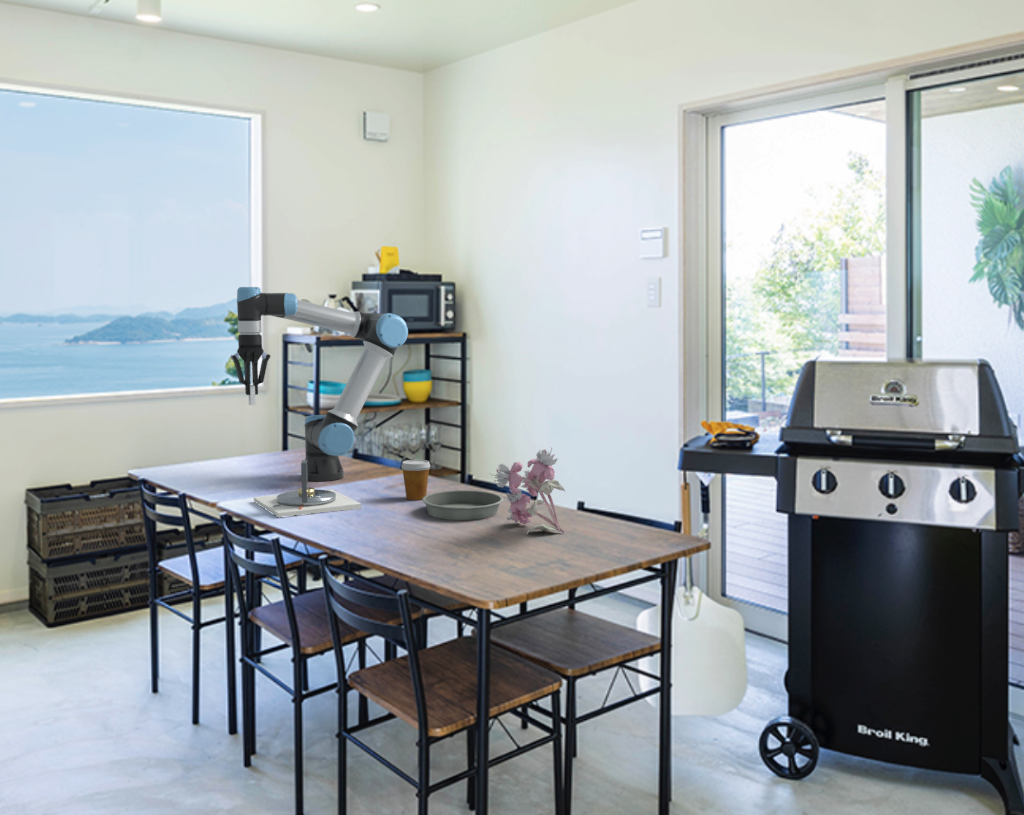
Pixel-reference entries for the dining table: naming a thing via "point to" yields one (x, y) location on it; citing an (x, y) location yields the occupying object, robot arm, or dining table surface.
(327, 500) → the dial
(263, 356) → the robot arm
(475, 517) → the cake pan
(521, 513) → the flower
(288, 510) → the dial board
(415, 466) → the disposable coffee cup
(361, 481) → the dining table surface
